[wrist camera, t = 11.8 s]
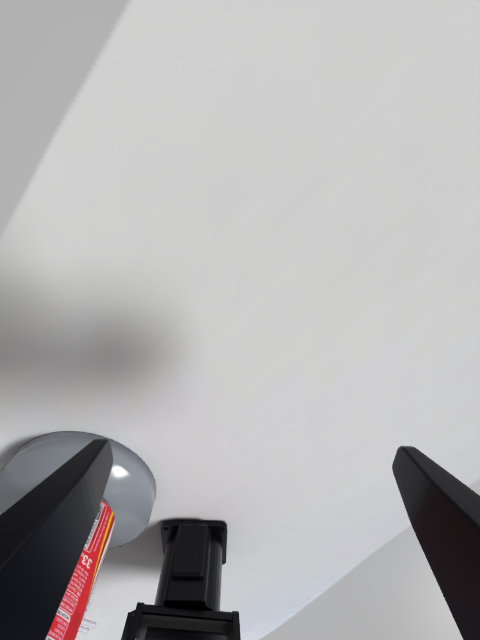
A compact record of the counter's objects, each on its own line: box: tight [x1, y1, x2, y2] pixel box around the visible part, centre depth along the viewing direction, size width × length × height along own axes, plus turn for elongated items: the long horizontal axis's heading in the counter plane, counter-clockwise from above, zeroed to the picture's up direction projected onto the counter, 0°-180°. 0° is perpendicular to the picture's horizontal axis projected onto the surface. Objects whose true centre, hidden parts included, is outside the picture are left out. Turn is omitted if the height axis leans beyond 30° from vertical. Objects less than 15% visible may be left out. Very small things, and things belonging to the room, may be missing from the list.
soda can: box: [46, 499, 115, 640], centre depth 20 cm, size 7×7×12 cm
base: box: [0, 431, 156, 549], centre depth 26 cm, size 13×13×2 cm
